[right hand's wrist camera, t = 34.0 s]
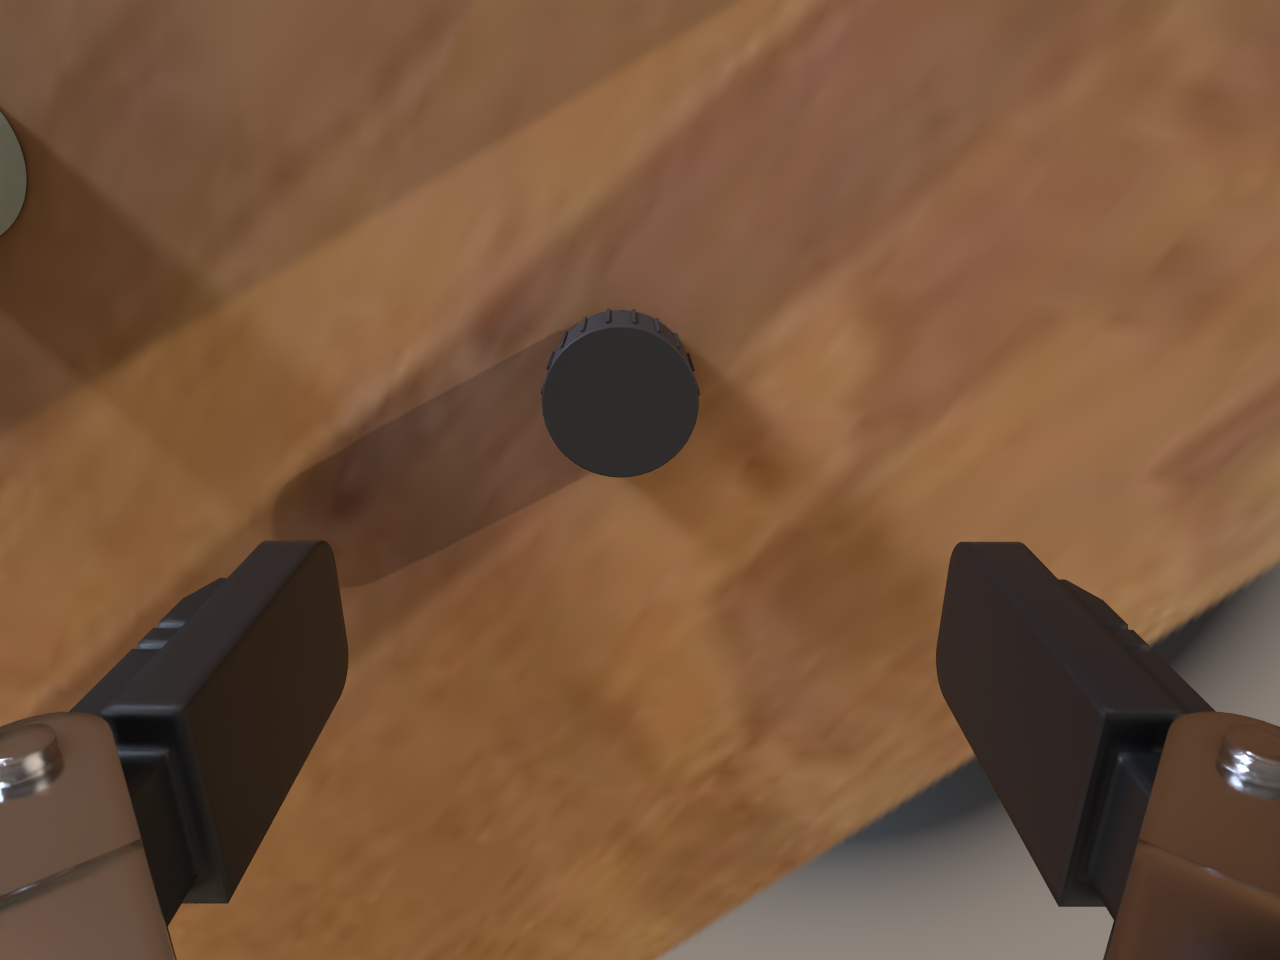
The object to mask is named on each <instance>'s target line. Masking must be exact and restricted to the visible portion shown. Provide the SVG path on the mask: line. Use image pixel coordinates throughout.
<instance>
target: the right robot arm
mask: <svg viewBox="0 0 1280 960" xmlns="http://www.w3.org/2000/svg"><path fill="white" fill-rule="evenodd" d="M936 666H937V675H938V680H939V685H940V688H941V691H942V694H943V696H944V698H945V700H946V702H947V704H948V706H949V708H950V709H951V711H952V713H953V715H954V717H955V718H956V720H957V722H958V724H959V726H960V728H961V729H962V731H963V733H964V735H965V737H966V739H967V740H968V742H969V744H970V746H971V748H972V749H973V751H974V753H975V755H976V757H977V759H978V760H979V762H980V764H981V766H982V768H983V769H984V771H985V773H986V775H987V777H988V779H989V780H990V782H991V784H992V786H993V788H994V789H995V791H996V793H997V795H998V797H999V799H1000V800H1001V802H1002V804H1003V806H1004V808H1005V810H1006V811H1007V813H1008V815H1009V817H1010V819H1011V820H1012V822H1013V824H1014V826H1015V828H1016V829H1017V831H1018V833H1019V835H1020V837H1021V839H1022V841H1023V842H1024V844H1025V846H1026V848H1027V850H1028V851H1029V853H1030V855H1031V857H1032V859H1033V861H1034V862H1035V864H1036V866H1037V868H1038V870H1039V871H1040V873H1041V875H1042V877H1043V879H1044V881H1045V882H1046V884H1047V886H1048V888H1049V890H1050V892H1051V893H1052V895H1053V897H1054V899H1055V901H1056V902H1057V904H1058V906H1059V907H1106V908H1107V909H1108V911H1109V913H1110V914H1111V916H1112V918H1113V919H1114V923H1113V927H1112V930H1111V934H1110V937H1109V941H1108V944H1107V948H1106V952H1105V955H1104V959H1103V960H1280V727H1279V726H1276V725H1273V724H1270V723H1267V722H1265V721H1262V720H1258V719H1254V718H1251V717H1247V716H1242V715H1237V714H1232V713H1223V712H1216V711H1215V710H1214V709H1213V708H1212V707H1211V706H1210V705H1209V704H1208V703H1207V702H1205V700H1204V699H1203V698H1202V697H1200V695H1199V694H1197V693H1196V692H1195V691H1194V690H1193V689H1192V688H1191V687H1190V686H1189V685H1188V684H1187V683H1186V682H1185V681H1184V680H1183V679H1182V678H1181V677H1180V676H1179V675H1178V674H1177V673H1176V672H1175V671H1174V670H1173V669H1172V668H1171V667H1170V666H1169V665H1168V664H1167V663H1166V662H1165V661H1164V660H1163V659H1162V658H1161V657H1160V656H1159V655H1158V654H1157V653H1156V652H1155V651H1149V645H1148V644H1147V643H1146V642H1145V641H1144V640H1143V639H1142V638H1141V637H1140V636H1139V635H1138V634H1137V633H1136V632H1135V631H1134V630H1128V624H1127V623H1125V622H1124V621H1123V620H1122V619H1121V618H1120V617H1119V616H1118V615H1117V614H1116V613H1115V612H1114V611H1113V610H1112V609H1111V608H1110V607H1109V606H1108V605H1107V604H1106V603H1105V602H1104V601H1103V600H1101V599H1100V598H1098V597H1096V596H1094V595H1092V594H1091V593H1089V592H1087V591H1085V590H1083V589H1081V588H1080V587H1078V586H1076V585H1074V584H1072V583H1071V582H1069V581H1067V580H1058V579H1057V578H1056V577H1055V576H1054V575H1053V574H1052V573H1051V572H1050V571H1049V569H1048V568H1047V567H1046V566H1045V565H1044V564H1043V563H1042V562H1041V561H1040V560H1039V559H1038V558H1037V557H1036V556H1035V555H1034V554H1033V553H1032V552H1031V551H1030V550H1029V549H1028V548H1027V547H1026V546H1025V545H1024V544H1023V543H1021V542H960V543H958V544H957V545H956V546H955V548H954V550H953V552H952V555H951V558H950V563H949V570H948V576H947V583H946V589H945V596H944V603H943V609H942V616H941V622H940V629H939V635H938V642H937V650H936ZM347 670H348V644H347V637H346V630H345V624H344V617H343V610H342V604H341V597H340V591H339V584H338V577H337V571H336V564H335V558H334V554H333V551H332V549H331V547H330V545H329V544H328V543H327V542H326V541H264V542H262V543H261V544H260V545H259V546H258V547H257V548H256V549H255V550H254V551H253V552H252V553H251V554H250V555H249V556H248V557H247V558H246V559H245V560H244V561H243V562H242V563H241V564H240V566H239V567H238V568H237V569H236V570H235V571H234V572H233V573H232V574H231V575H230V576H229V577H228V578H219V579H218V580H216V581H214V582H212V583H210V584H209V585H207V586H205V587H203V588H201V589H200V590H198V591H196V592H194V593H192V594H191V595H189V596H187V597H185V598H183V599H182V600H181V601H180V602H179V603H178V604H177V605H176V606H175V607H174V608H173V609H172V610H171V611H170V612H169V613H168V614H167V615H166V616H165V617H164V618H163V619H162V620H161V621H160V622H159V623H158V628H153V629H152V630H151V631H150V632H149V633H148V634H147V635H146V636H145V637H144V638H143V639H142V640H141V641H140V642H139V643H138V647H137V649H132V650H131V651H130V652H129V653H128V654H127V655H126V656H125V657H124V658H123V659H122V660H121V661H120V662H119V663H118V664H117V665H116V666H115V667H114V668H113V669H112V670H111V671H110V672H109V673H108V674H107V675H106V676H105V677H104V678H103V679H102V680H101V681H100V682H99V683H98V684H97V685H96V686H95V687H94V688H93V689H92V690H91V691H90V692H89V693H88V694H87V695H86V696H85V697H84V698H82V699H81V700H80V701H79V702H78V703H77V704H76V705H75V706H74V707H73V708H72V709H71V710H70V711H69V712H56V713H48V714H43V715H38V716H33V717H29V718H26V719H22V720H18V721H15V722H12V723H10V724H7V725H4V726H1V727H0V960H177V959H176V955H175V951H174V948H173V944H172V941H171V937H170V934H169V930H168V925H169V923H170V922H171V920H172V918H173V917H174V915H175V913H176V912H177V910H178V909H179V907H180V905H181V904H182V903H229V901H230V899H231V897H232V895H233V893H234V892H235V890H236V888H237V886H238V884H239V882H240V880H241V879H242V877H243V875H244V873H245V871H246V869H247V868H248V866H249V864H250V862H251V860H252V858H253V856H254V855H255V853H256V851H257V849H258V847H259V845H260V844H261V842H262V840H263V838H264V836H265V834H266V833H267V831H268V829H269V827H270V825H271V823H272V821H273V820H274V818H275V816H276V814H277V812H278V810H279V809H280V807H281V805H282V803H283V801H284V799H285V797H286V796H287V794H288V792H289V790H290V788H291V786H292V785H293V783H294V781H295V779H296V777H297V775H298V773H299V772H300V770H301V768H302V766H303V764H304V762H305V761H306V759H307V757H308V755H309V753H310V751H311V750H312V748H313V746H314V744H315V742H316V740H317V738H318V737H319V735H320V733H321V731H322V729H323V727H324V726H325V724H326V722H327V720H328V718H329V716H330V714H331V713H332V711H333V709H334V707H335V705H336V703H337V702H338V700H339V698H340V696H341V694H342V691H343V688H344V685H345V681H346V676H347Z"/></svg>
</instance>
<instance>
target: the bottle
mask: <svg viewBox="0 0 1280 960" xmlns="http://www.w3.org/2000/svg"><path fill="white" fill-rule="evenodd" d="M26 182H27V177H26V167H25V162H24V157H23V154H22V151H21V148H20V145H19V142H18V140H17V138H16V136H15V134H14V131H13V130H12V128H11V126H10V125H9V123H8V121H7V120H6V118H5V117H4V116H3V114H2V113H1V112H0V235H2V234H3V233H4V232H5V231H6V230H7V229H8V228H9V227H10V226H11V225H12V223H13V222H14V221H15V220H16V218H17V216H18V214H19V212H20V211H21V208H22V205H23V202H24V199H25V193H26Z"/></svg>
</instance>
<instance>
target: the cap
mask: <svg viewBox="0 0 1280 960" xmlns="http://www.w3.org/2000/svg"><path fill="white" fill-rule="evenodd" d="M546 369H547V370H548V373H547V376H546V379H545V382H544V385H543V387H542V390H541V394H542V409H543V416H544V420H545V424H546V427H547V429H548V432H549V434H550V436H551V437H552V439H553V441H554V442H555V444H556V445H557V447H558V448H559V449H560V450H561V451H562V452H563V453H564V454H565V456H566V457H568V458H569V459H570V460H571V461H573V462H574V463H575V464H577V465H579V466H580V467H582V468H584V469H586V470H588V471H590V472H593V473H596V474H600V475H604V476H609V477H632V476H637V475H642V474H645V473H648V472H651V471H653V470H655V469H657V468H659V467H661V466H662V465H664V464H666V463H667V462H668V461H670V460H671V459H672V458H673V457H675V456H676V454H677V453H678V452H679V451H680V450H681V449H682V448H683V446H684V445H685V444H686V442H687V441H688V439H689V437H690V435H691V433H692V431H693V429H694V426H695V423H696V419H697V415H698V406H699V398H698V395H700V392H699V389H698V386H697V383H696V379H695V376H694V374H693V371H695V369H694V366H693V363H692V360H691V357H690V354H689V353H686V351H685V349H684V347H683V346H682V344H681V342H680V341H679V338H678V335H677V333H676V332H675V333H674V334H673V332H672V331H671V330H669V329H668V328H667V327H666V326H665V325H663V324H662V323H660V322H659V319H658V318H655V319H654V318H652V317H650V316H647V315H644V314H641V313H637V312H635V310H633V309H632V311H622V310H619V311H610V309H607V312H603V313H600V314H597V315H594V316H591V317H589V318H587V317H584V318H583V321H582V322H580V323H579V324H578V325H576V326H575V327H574V328H573V329H572V330H570V331H569V332H567V331H566V332H565V333H564V336H563V339H562V341H561V343H560V344H559V346H558V347H557V349H556V352H552V355H551V357H550V360H549V363H548V366H547V368H546Z"/></svg>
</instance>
